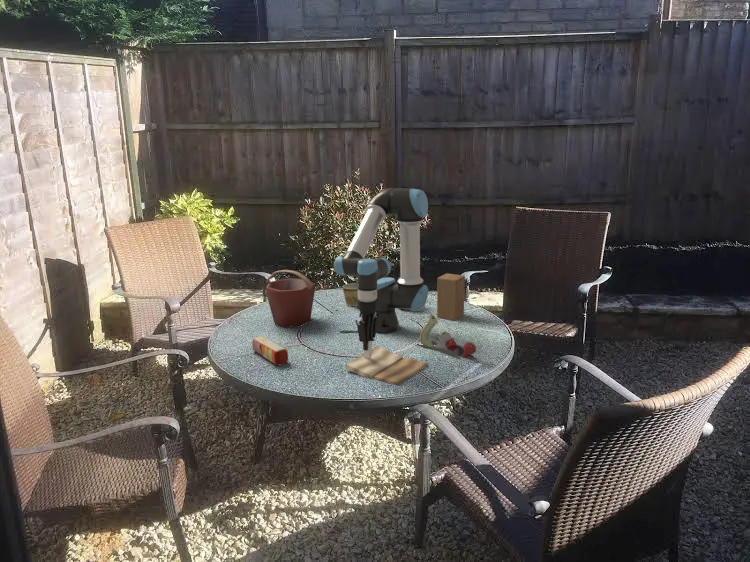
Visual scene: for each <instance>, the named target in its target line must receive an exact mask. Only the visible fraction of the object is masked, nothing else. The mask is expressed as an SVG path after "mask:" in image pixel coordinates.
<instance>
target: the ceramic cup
mask: <svg viewBox="0 0 750 562" xmlns="http://www.w3.org/2000/svg"><path fill="white" fill-rule="evenodd" d="M342 290H343V294H344V300H345V303H346V306H347V307H351V306H352V307H358V300H359V299H358V283H346V284H343V285H342Z"/></svg>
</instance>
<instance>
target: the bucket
mask: <svg viewBox="0 0 750 562" xmlns="http://www.w3.org/2000/svg"><path fill="white" fill-rule="evenodd" d="M279 273H288V274H293V275H295V276H296V277H298V278H290V277H289V278H283V279H277V280H272V281H271V279H273V278H275V276H277V274H279ZM266 284H267V285H266V286H265V291H266V292H265V294H266V297H267V301H268V305H269V308H270V312H271V317H272V319H273V324H274V323H275V324H274V325H276V324H278V325H277V326H279V325H281V326H280V327H282V326H283V327H282V328H291V327H290V326H301V325H303V324H305V323H307V322H309V321H310V322H311V318H312V310H313V306H314V305H313V304H314V300H315V299H314V298H315V292H316V286H315V283H313V281H311V280H310V279H309V278H308V277H306V276H305V275H304V274H303V273H301V272H299V271H296V270H291V269H290V270H289V269H281V270H277V271H274V272H272V274H271V275H270V276H269V277H267V279H266ZM310 322H309V323H310ZM307 324H308V323H307ZM305 325H306V324H305ZM303 326H304V325H303ZM301 327H302V326H301Z"/></svg>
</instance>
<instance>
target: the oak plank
mask: <svg viewBox="0 0 750 562" xmlns="http://www.w3.org/2000/svg"><path fill="white" fill-rule="evenodd" d="M427 366H428V362H426V361H423V360H422V361H421V360H417V359H412V358H409V357H404V358H403V359H402V360H401V361H399V362H398V363H396V364H394V365H393V366H391V367H390V368H388V369H386V370H385V371H383V372H381V373H380V374H378V375H377V376H375V378H374V380H377V381H380V382H383V383H388V384H390V385H391V384H392V385H395V386H399V385H400V384H401V383H403V382H405V381H406V380H408V379H409V378H410V377H412V376H413V375H416V374H417V373H419V371H421V370H422V369H424V368H425V367H427Z"/></svg>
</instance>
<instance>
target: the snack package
mask: <svg viewBox="0 0 750 562" xmlns="http://www.w3.org/2000/svg"><path fill="white" fill-rule="evenodd" d="M251 345H252V347H251V348H252V350H253V351H254V352H256V353H257V354H259V355H260V356H261V357H263V358H264V359H267V360H268V361H270V362H271V363H272V364H274V365H276V366H280V365H279V364H281V365H284V364H283V363H285V364H287V363H288V361H289V351H288V349H286V348H285V347H283V346H280V345H279V344H277V343H275V342H274V341H271V340H270V339H268V338H266V337H264V336H262V335H261V336H258V337H257V336H256V337H255V338H252V340H251Z"/></svg>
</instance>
